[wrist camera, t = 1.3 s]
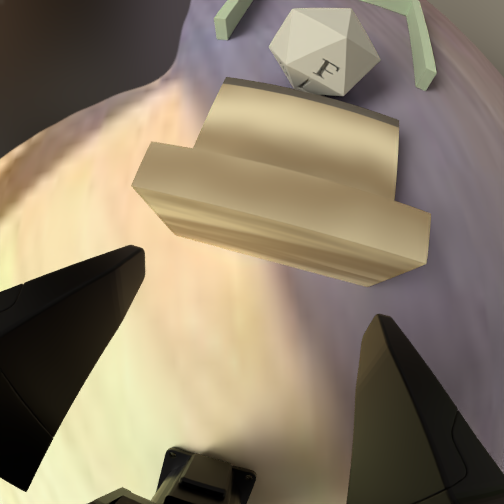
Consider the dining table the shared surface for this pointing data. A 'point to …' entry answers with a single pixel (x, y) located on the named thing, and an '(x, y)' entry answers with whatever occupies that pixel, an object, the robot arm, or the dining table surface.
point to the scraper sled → (290, 184)
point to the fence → (403, 3)
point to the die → (323, 50)
